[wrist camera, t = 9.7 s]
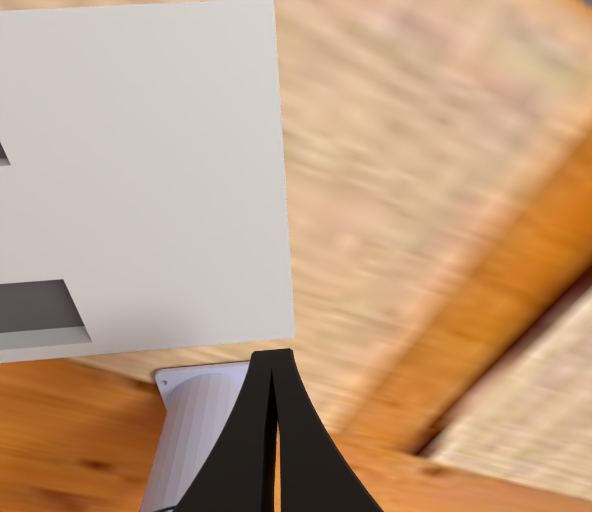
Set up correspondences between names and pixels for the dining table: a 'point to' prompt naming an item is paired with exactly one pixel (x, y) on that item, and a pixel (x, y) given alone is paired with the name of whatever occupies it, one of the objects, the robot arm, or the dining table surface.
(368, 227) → the dining table surface
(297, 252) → the dining table surface
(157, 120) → the board
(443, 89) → the dining table surface
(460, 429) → the dining table surface
